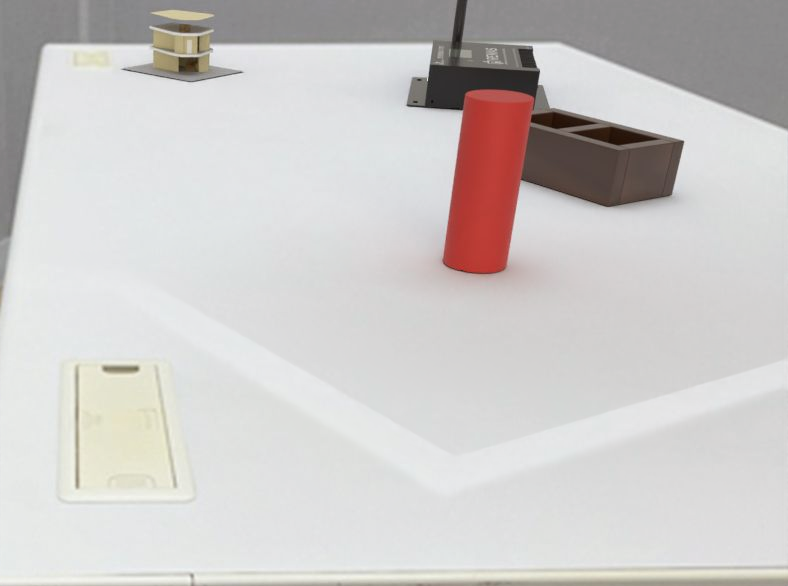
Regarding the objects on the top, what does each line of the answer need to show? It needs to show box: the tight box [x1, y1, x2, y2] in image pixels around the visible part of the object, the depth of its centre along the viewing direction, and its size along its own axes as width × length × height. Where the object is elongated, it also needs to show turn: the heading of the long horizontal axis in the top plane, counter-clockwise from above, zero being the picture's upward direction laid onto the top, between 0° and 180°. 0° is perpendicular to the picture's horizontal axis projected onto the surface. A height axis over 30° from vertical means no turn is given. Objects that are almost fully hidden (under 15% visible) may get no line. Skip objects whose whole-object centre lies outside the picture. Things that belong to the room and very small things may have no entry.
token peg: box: [442, 90, 534, 274], centre depth 74 cm, size 4×4×10 cm
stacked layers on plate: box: [120, 9, 244, 82], centre depth 130 cm, size 10×9×6 cm
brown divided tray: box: [521, 107, 685, 207], centre depth 94 cm, size 7×13×4 cm, turn 32°
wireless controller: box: [406, 0, 551, 110], centre depth 121 cm, size 20×14×17 cm
